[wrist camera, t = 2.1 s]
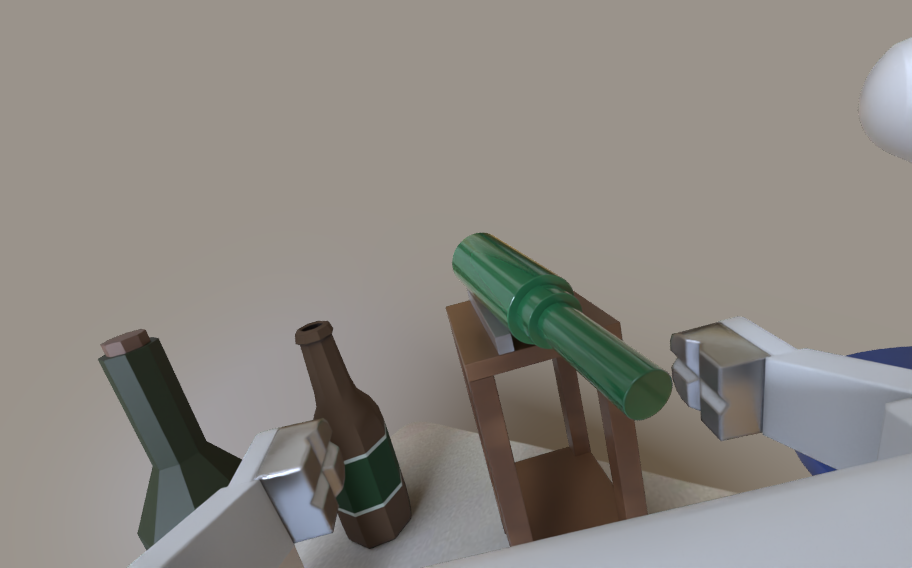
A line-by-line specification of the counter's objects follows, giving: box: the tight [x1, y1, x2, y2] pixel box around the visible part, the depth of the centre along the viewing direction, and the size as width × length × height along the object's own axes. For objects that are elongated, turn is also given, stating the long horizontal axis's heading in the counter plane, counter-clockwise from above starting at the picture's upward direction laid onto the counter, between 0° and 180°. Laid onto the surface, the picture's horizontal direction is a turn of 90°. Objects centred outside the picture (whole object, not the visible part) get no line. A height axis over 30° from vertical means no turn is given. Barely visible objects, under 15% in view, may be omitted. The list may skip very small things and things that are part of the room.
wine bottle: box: [98, 329, 304, 568], centre depth 32 cm, size 8×8×30 cm
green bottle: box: [452, 233, 672, 420], centre depth 25 cm, size 18×4×4 cm, turn 18°
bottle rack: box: [446, 289, 648, 547], centre depth 35 cm, size 10×12×25 cm
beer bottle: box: [295, 321, 411, 548], centre depth 44 cm, size 8×8×24 cm
